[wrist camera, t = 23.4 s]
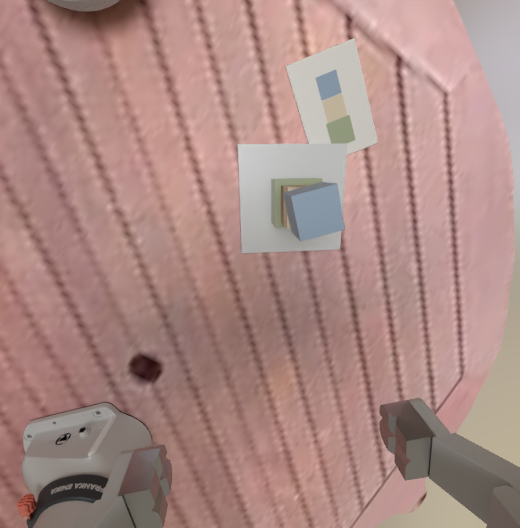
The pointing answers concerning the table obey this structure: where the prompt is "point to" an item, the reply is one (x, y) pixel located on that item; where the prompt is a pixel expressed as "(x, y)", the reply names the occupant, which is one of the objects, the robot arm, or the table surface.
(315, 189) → the slate blue block
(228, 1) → the table surface
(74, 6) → the cereal bowl
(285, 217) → the beech block
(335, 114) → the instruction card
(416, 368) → the table surface
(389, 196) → the table surface
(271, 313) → the table surface
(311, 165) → the build plate
